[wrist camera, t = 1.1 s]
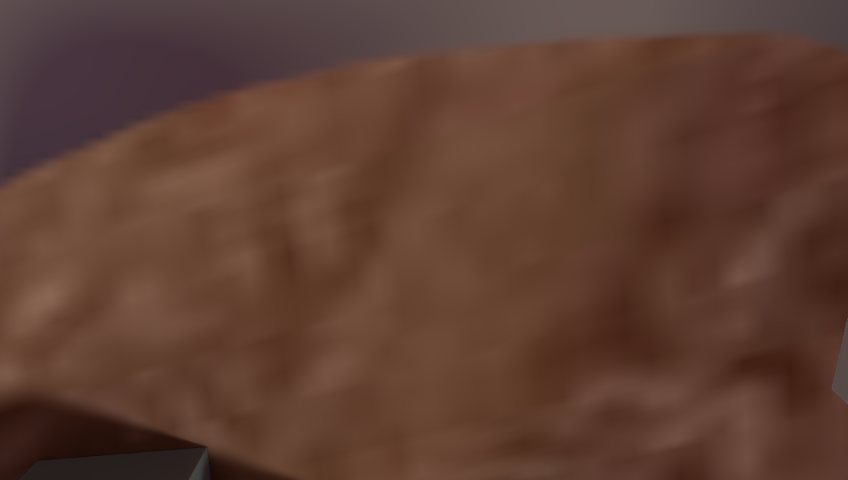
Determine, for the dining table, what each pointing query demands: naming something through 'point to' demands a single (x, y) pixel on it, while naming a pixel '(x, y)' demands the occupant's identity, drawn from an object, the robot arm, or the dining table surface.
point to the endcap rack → (126, 466)
